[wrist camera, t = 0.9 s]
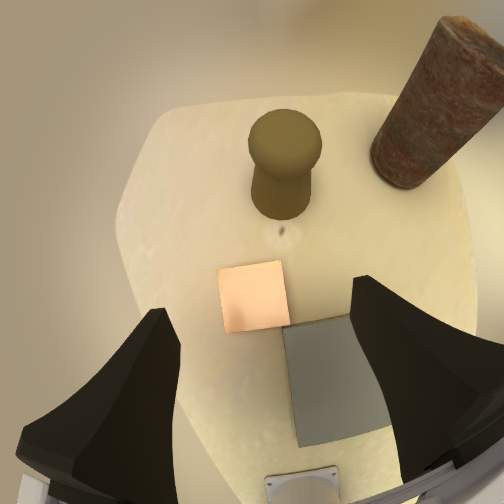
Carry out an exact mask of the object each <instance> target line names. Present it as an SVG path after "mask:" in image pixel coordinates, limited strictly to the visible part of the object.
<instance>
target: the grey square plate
mask: <svg viewBox="0 0 504 504" xmlns="http://www.w3.org/2000/svg"><path fill="white" fill-rule="evenodd" d="M282 330H283V337H284V344H285V351H286V358H287V366H288V373H289V380H290V388H291V395H292V403H293V411H294V418H295V426H296V434H297V440H298V446H299V448H301V447H307V446H312V445H318V444H323V443H327V442H332V441H336V440H341V439H345V438H349V437H353V436H356V435H360V434H363V433H367V432H370V431H374V430H377V429H380V428H383V427H386V426H389V425H392V423H391V420H390V416H389V412H388V409H387V406H386V402H385V399H384V396H383V393H382V390H381V388H380V385H379V383H378V381H377V379H376V377H375V374H374V372H373V370H372V368H371V366H370V364H369V362H368V360H367V358H366V356H365V354H364V352H363V350H362V348H361V346H360V344H359V342H358V340H357V337H356V335H355V332H354V329H353V326H352V323H351V320H350V314H346V315H341V316H336V317H331V318H326V319H321V320H316V321H310V322H305V323H299V324H293V325H287V326H282Z"/></svg>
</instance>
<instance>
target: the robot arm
mask: <svg viewBox="0 0 504 504" xmlns="http://www.w3.org/2000/svg"><path fill="white" fill-rule="evenodd" d="M350 320H351V323H352V326H353V329H354V332H355V335H356V337H357V340H358V342H359V344H360V346H361V348H362V350H363V352H364V354H365V356H366V358H367V360H368V362H369V364H370V366H371V368H372V370H373V372H374V374H375V377H376V379H377V381H378V383H379V385H380V388H381V390H382V393H383V396H384V399H385V402H386V406H387V409H388V412H389V416H390V420H391V423H392V427H393V431H394V436H395V440H396V445H397V450H398V457H399V463H400V471H401V478H402V481H403V485H401V486H398V487H396V488H393V489H391V490H388V491H386V492H383V493H380V494H378V495H375V496H372V497H369V498H366V499H363V500H360V501H356V502H353V503H349V504H401V503H403V502H405V501H407V500H410V499H412V498H414V497H416V496H418V495H420V494H421V495H420V496H419V497H418V500H417V502H416V503H415V504H503V503H504V345H503V344H499V343H495V342H492V341H488V340H485V339H482V338H479V337H476V336H473V335H471V334H468V333H466V332H463V331H461V330H459V329H456V328H454V327H452V326H450V325H448V324H446V323H444V322H442V321H440V320H438V319H436V318H434V317H432V316H430V315H429V314H427V313H425V312H424V311H422V310H420V309H419V308H417V307H415V306H414V305H412V304H411V303H409V302H408V301H406V300H405V299H403V298H402V297H400V296H399V295H397V294H396V293H394V292H393V291H391V290H390V289H388V288H387V287H385V286H384V285H382V284H381V283H379V282H378V281H376V280H375V279H373V278H372V277H370V276H368V275H365V276H360V277H355V278H353V288H352V299H351V309H350ZM180 351H181V344H180V342H179V339H178V337H177V335H176V333H175V330H174V328H173V326H172V324H171V321H170V319H169V317H168V314H167V312H166V309H165V308H157V309H150V310H149V312H148V313H147V314H146V315H145V316H144V318H143V319H142V320H141V321H140V323H139V324H138V325H137V326H136V328H135V329H134V330H133V332H132V333H131V334H130V335H129V337H128V338H127V339H126V340H125V342H124V343H123V344H122V345H121V347H120V348H119V349H118V350H117V351H116V352H115V354H114V355H113V356H112V357H111V359H109V361H108V362H107V363H106V364H105V365H104V366H103V367H102V369H101V370H100V371H99V372H98V373H97V374H96V375H95V376H94V377H93V378H92V379H91V380H90V381H89V382H88V383H87V384H85V385H84V386H83V387H82V388H81V389H80V390H78V391H77V392H76V393H75V394H74V395H72V396H71V397H70V398H69V399H68V400H66V401H65V402H64V403H62V404H61V405H60V406H58V407H57V408H55V409H54V410H52V411H51V412H49V413H48V414H46V415H45V416H43V417H41V418H39V419H38V420H36V421H34V422H32V423H30V424H29V425H27V426H25V427H24V428H23V431H22V434H21V437H20V440H19V443H18V446H17V450H16V456H17V457H18V458H19V459H20V460H21V461H22V462H24V463H25V464H27V465H28V466H30V467H31V468H33V469H34V470H36V471H38V472H39V473H41V474H43V475H44V476H46V477H48V478H50V479H51V480H50V484H48V483H46V482H43V481H41V480H39V479H37V478H35V477H33V476H31V475H28V474H26V473H24V474H23V478H22V482H21V486H20V491H19V496H18V501H17V504H178V499H177V493H176V486H175V478H174V468H173V453H172V420H173V411H174V404H175V397H176V390H177V384H178V377H179V370H180ZM334 472H335V473H334ZM332 473H334V474H332ZM264 483H265V488H266V493H267V498H268V503H269V504H340V501H339V478H338V468H337V467H336V466H332V467H328V468H323V469H318V470H313V471H307V472H301V473H295V474H287V475H279V476H270V477H266V478H265V479H264ZM268 483H271V484H268ZM422 493H423V494H422Z"/></svg>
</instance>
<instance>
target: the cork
mask: <svg viewBox="0 0 504 504" xmlns="http://www.w3.org/2000/svg"><path fill="white" fill-rule="evenodd" d="M248 145H249V153H250V155H251V157H252V159H253V161H254V163H255V169H254V175H253V181H252V187H251V196H252V200H253V203H254V205H255V207H256V208H257V209H258V210H259V211H260V212H261V213H262V214H263V215H265V216H267V217H269V218H271V219H276V220H289V219H292V218H294V217H297V216H298V215H299V214H301V213H302V212H303V211H304V210H305V209H306V207H307V205H308V204H309V200H310V195H311V169H312V168H313V167H314V166H315V164H316V162H317V161H318V159H319V157H320V154H321V149H322V140H321V135H320V131H319V130H318V128H317V126H316V125H315V123H314V122H313V121H312V120H311V119H309V118H308V117H307V116H306V115H304V114H302V113H300V112H298V111H295V110H289V109H277V110H274V111H270V112H268V113H266V114H265V115H263V116H262V117H260V118H259V119H258V120H257V121H256V122H255V123H254V125H253V126H252V128H251V131H250V135H249V138H248Z"/></svg>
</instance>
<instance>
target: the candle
mask: <svg viewBox="0 0 504 504" xmlns="http://www.w3.org/2000/svg"><path fill="white" fill-rule="evenodd" d="M503 107H504V47H503V46H502V45H501V44H499V43H498V42H496V41H495V40H494V39H493V38H491V37H490V36H489V35H488V34H487V32H486V31H484V30H483V29H482V28H481V27H479V26H478V25H477V24H476V23H473V22H472V21H470V20H469V19H467V18H465V17H464V16H453V17H452V16H444V17H442V18H441V19H440V20H439V21H438V23H437V25H436V27H435V29H434V31H433V33H432V36H431V37H430V39H429V41H428V43H427V45H426V47H425V49H424V51H423V53H422V55H421V57H420V59H419V61H418V63H417V65H416V67H415V68H414V70H413V72H412V74H411V76H410V78H409V80H408V82H407V83H406V85H405V87H404V89H403V90H402V92H401V94H400V96H399V98H398V99H397V101H396V103H395V105H394V106H393V108H392V110H391V111H390V113H389V115H388V116H387V118H386V120H385V122H384V123H383V125H382V127H381V128H380V130H379V132H378V134H377V135H376V137H375V139H374V141H373V143H372V148H371V152H372V155H373V159H374V162H375V164H376V166H377V168H378V170H379V171H380V173H381V174H382V175H383V176H384V177H385V178H387V179H388V180H389V181H391V182H393V183H394V184H396V185H397V186H399V187H404V188H410V189H412V188H415V187H418V186H419V185H420V184H422V183H423V182H424V181H425V180H427V179H428V178H429V177H430V176H431V175H432V174H434V173H435V172H436V171H437V170H438V169H439V168H440V167H441V166H442V165H443V164H445V163H446V162H447V161H448V160H449V159H450V158H451V157H452V156H453V155H454V154H455V153H456V152H457V151H458V150H459V149H460V148H462V147H463V146H464V145H465V144H466V143H467V142H468V141H469V140H470V139H471V138H472V137H473V136H474V135H475V134H476V133H477V132H479V131H480V130H481V129H482V128H483V127H484V126H485V125H486V124H487V123H488V122H489V120H491V119H492V118H493V117H494V116H495V115H496V114H497V113H498V112H499V111H500V110H501V109H502V108H503Z"/></svg>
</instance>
